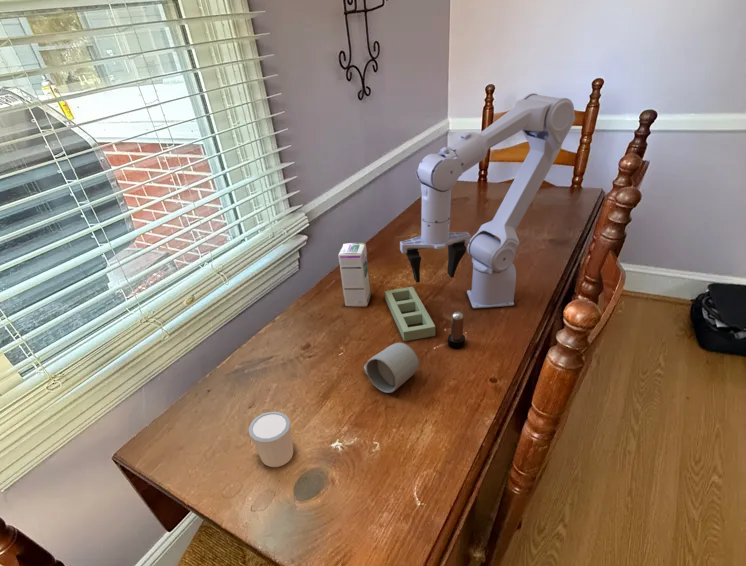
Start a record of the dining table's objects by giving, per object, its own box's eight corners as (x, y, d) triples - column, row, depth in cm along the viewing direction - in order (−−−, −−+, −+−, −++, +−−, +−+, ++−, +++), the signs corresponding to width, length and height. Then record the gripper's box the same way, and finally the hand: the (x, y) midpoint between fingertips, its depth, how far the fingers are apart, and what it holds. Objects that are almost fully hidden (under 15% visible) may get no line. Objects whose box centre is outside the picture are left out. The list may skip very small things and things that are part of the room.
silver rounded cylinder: (463, 338, 102) (464, 307, 98) (466, 348, 99) (468, 316, 95) (446, 339, 103) (447, 308, 98) (449, 349, 100) (450, 317, 95)
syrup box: (367, 307, 117) (362, 252, 108) (344, 306, 118) (337, 253, 110) (371, 295, 121) (366, 242, 113) (348, 294, 123) (342, 242, 114)
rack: (412, 295, 119) (412, 286, 118) (435, 335, 104) (435, 326, 103) (385, 299, 119) (384, 291, 117) (403, 341, 104) (403, 332, 102)
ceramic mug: (422, 376, 94) (421, 345, 89) (397, 399, 89) (395, 367, 85) (380, 358, 100) (377, 328, 96) (355, 379, 96) (351, 348, 91)
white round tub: (258, 441, 84) (249, 413, 80) (296, 436, 84) (290, 408, 80) (256, 472, 79) (246, 444, 75) (297, 467, 79) (290, 438, 75)
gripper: (405, 230, 92) (406, 291, 100) (477, 219, 93) (472, 281, 101) (397, 217, 98) (398, 276, 106) (464, 208, 99) (460, 267, 107)
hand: (433, 277), depth 104 cm, fingers open, 7 cm apart
